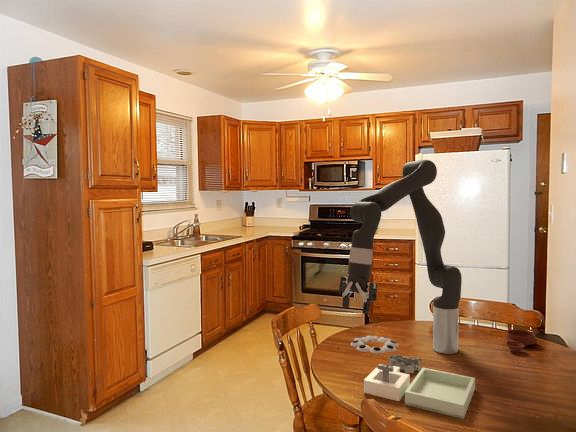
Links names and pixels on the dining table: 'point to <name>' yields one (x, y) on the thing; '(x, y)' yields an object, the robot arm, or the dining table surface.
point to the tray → (441, 392)
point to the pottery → (519, 339)
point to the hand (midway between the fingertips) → (355, 311)
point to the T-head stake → (385, 371)
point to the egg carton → (402, 360)
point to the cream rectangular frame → (387, 384)
